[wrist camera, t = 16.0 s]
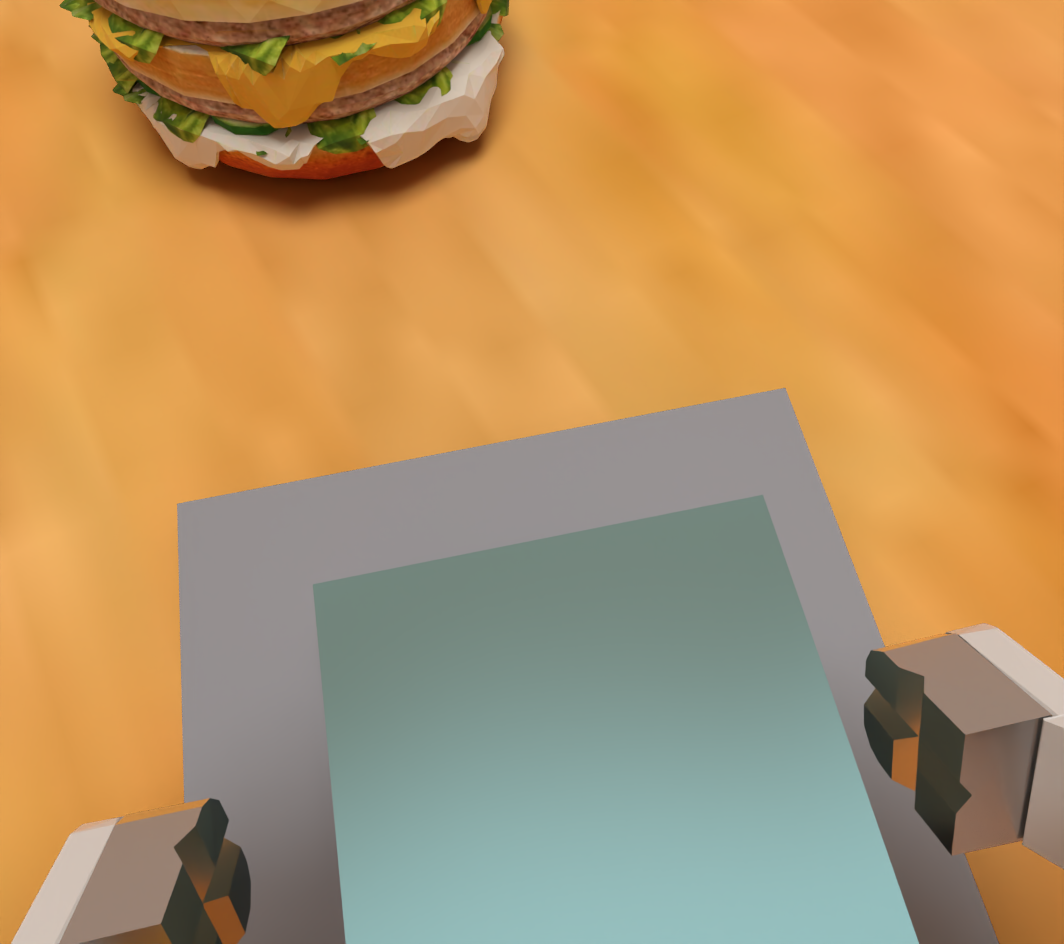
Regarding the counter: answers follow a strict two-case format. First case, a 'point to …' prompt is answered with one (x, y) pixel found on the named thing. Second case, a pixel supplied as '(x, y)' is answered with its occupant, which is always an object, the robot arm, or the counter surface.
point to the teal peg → (597, 747)
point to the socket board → (469, 526)
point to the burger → (302, 77)
